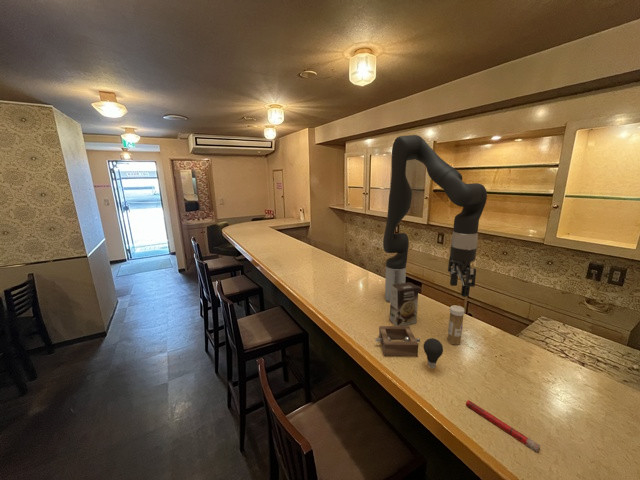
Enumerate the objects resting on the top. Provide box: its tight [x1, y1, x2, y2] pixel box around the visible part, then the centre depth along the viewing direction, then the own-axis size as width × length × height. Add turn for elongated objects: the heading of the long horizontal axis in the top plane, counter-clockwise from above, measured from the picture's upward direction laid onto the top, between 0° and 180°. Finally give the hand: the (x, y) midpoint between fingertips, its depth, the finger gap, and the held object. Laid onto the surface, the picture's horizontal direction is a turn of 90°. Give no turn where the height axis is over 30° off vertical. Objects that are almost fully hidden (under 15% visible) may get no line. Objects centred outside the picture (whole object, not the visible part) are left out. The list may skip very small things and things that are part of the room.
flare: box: [465, 399, 541, 453], centre depth 62 cm, size 2×15×2 cm, turn 36°
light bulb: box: [423, 337, 444, 369], centre depth 80 cm, size 6×6×10 cm
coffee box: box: [388, 281, 420, 326], centre depth 105 cm, size 9×6×16 cm
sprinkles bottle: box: [446, 304, 465, 346], centre depth 92 cm, size 5×5×14 cm
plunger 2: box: [403, 336, 421, 343], centre depth 91 cm, size 2×5×2 cm, turn 87°
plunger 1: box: [375, 337, 392, 343], centre depth 92 cm, size 2×5×2 cm, turn 87°
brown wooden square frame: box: [378, 325, 419, 358], centre depth 92 cm, size 11×11×5 cm
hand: (458, 290), depth 89 cm, fingers open, 8 cm apart
